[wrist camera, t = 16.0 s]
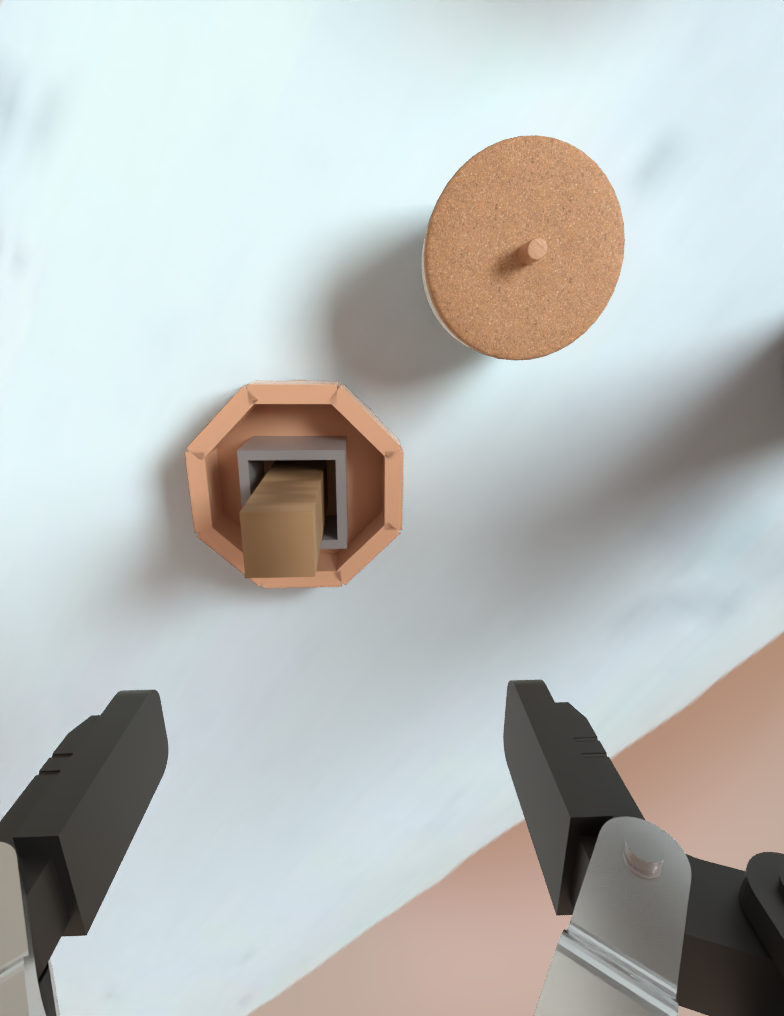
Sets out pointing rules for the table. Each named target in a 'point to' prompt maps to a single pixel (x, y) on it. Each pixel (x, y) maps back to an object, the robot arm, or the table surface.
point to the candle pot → (299, 436)
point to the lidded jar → (523, 248)
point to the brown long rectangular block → (285, 520)
